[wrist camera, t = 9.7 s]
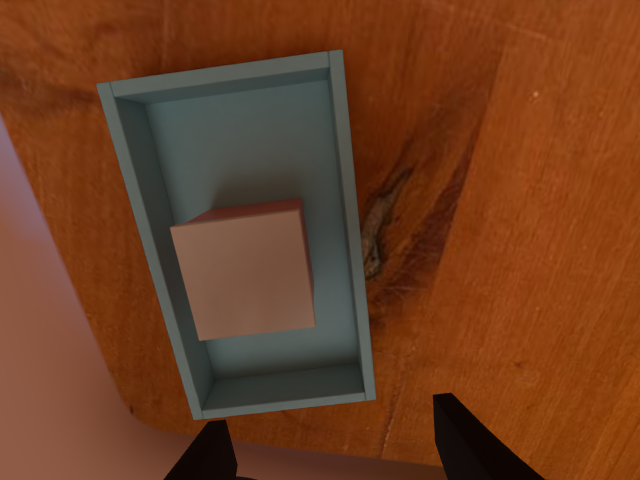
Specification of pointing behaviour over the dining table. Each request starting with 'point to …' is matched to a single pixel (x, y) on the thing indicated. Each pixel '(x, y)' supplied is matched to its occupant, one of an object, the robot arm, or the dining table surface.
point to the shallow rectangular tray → (242, 189)
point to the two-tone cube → (247, 269)
